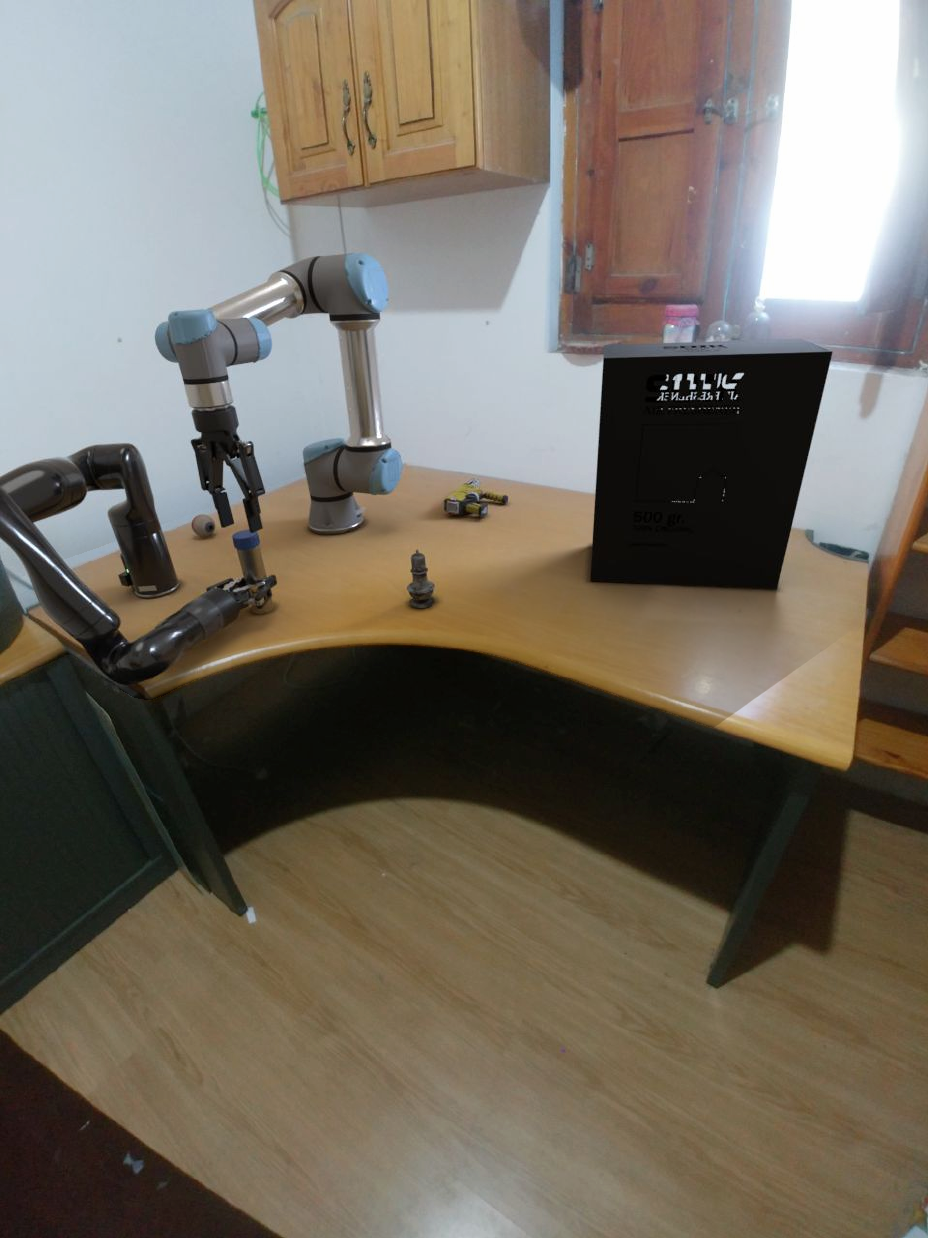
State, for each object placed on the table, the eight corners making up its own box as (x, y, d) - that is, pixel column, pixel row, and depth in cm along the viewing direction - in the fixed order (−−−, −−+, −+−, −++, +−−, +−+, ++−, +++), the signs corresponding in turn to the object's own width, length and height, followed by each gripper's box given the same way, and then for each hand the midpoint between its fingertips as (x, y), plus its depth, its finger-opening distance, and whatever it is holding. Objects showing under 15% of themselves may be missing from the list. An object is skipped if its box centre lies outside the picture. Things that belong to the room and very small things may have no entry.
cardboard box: (756, 549, 141) (800, 338, 118) (776, 589, 124) (832, 351, 101) (592, 544, 148) (604, 344, 126) (590, 580, 131) (603, 357, 109)
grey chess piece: (432, 609, 124) (427, 555, 118) (404, 607, 125) (398, 554, 119) (439, 596, 129) (434, 544, 123) (412, 594, 130) (407, 543, 124)
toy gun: (516, 483, 183) (470, 476, 187) (493, 506, 163) (442, 498, 167) (515, 498, 186) (469, 491, 190) (492, 523, 166) (441, 514, 170)
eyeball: (204, 541, 163) (198, 520, 160) (190, 537, 166) (184, 517, 163) (223, 533, 168) (217, 513, 165) (208, 530, 171) (202, 510, 168)
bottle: (260, 616, 126) (241, 542, 117) (248, 609, 128) (229, 537, 120) (278, 607, 128) (260, 535, 120) (266, 601, 131) (248, 530, 123)
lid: (243, 552, 118) (240, 540, 117) (229, 546, 121) (226, 535, 120) (264, 543, 121) (262, 532, 120) (251, 538, 124) (248, 527, 123)
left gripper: (231, 603, 110) (289, 565, 123) (173, 592, 115) (234, 557, 128) (241, 638, 113) (296, 597, 127) (184, 626, 118) (242, 588, 132)
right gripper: (269, 405, 106) (293, 527, 118) (190, 400, 115) (220, 515, 126) (237, 413, 101) (266, 541, 112) (157, 408, 109) (191, 527, 120)
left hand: (265, 577), depth 127 cm, fingers closed on bottle, 4 cm apart
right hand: (242, 527), depth 119 cm, fingers open, 7 cm apart
